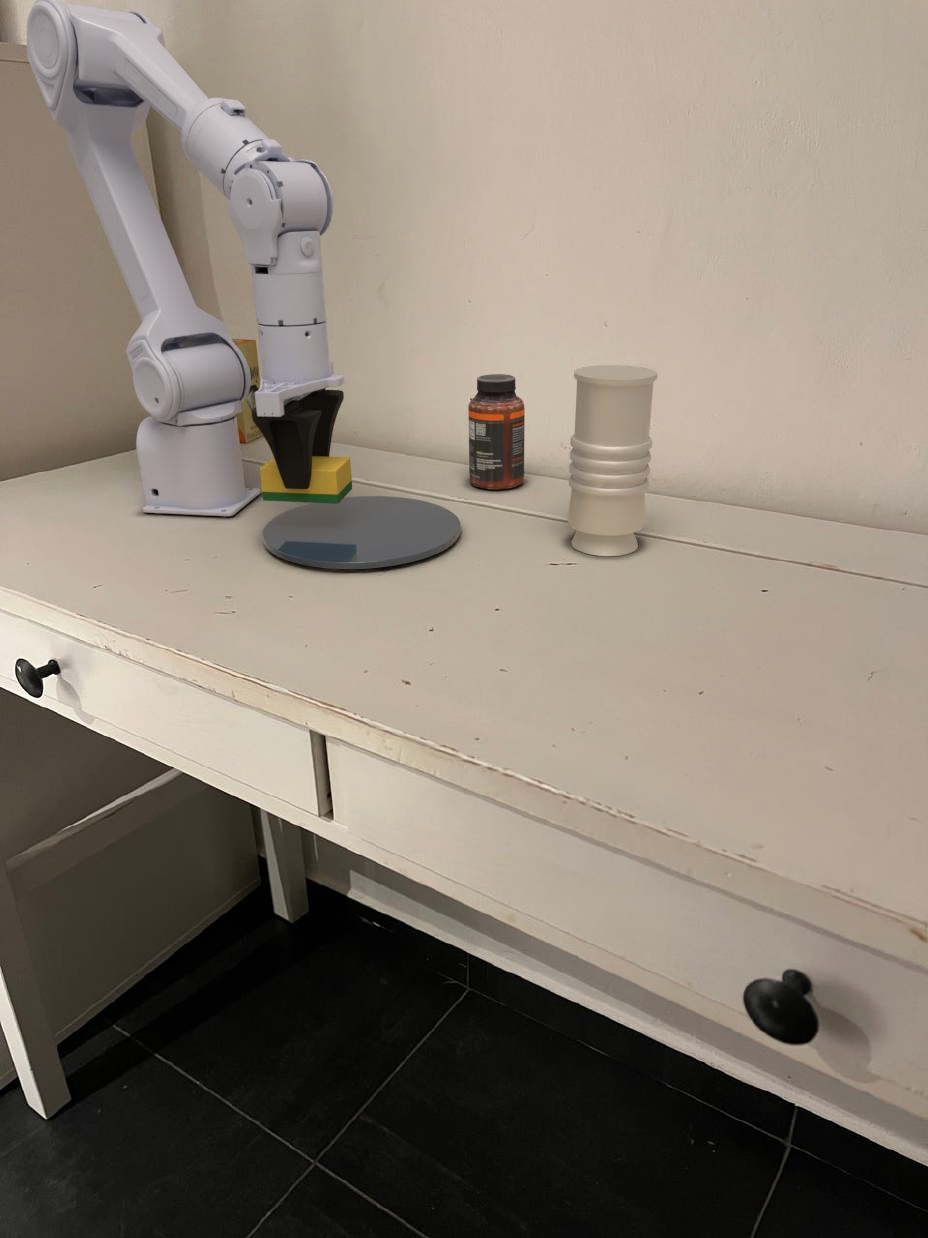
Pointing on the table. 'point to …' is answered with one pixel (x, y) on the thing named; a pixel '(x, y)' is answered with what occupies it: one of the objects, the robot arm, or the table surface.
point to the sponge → (324, 487)
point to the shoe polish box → (244, 419)
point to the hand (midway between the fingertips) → (306, 479)
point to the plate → (361, 532)
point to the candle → (610, 457)
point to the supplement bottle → (496, 434)
